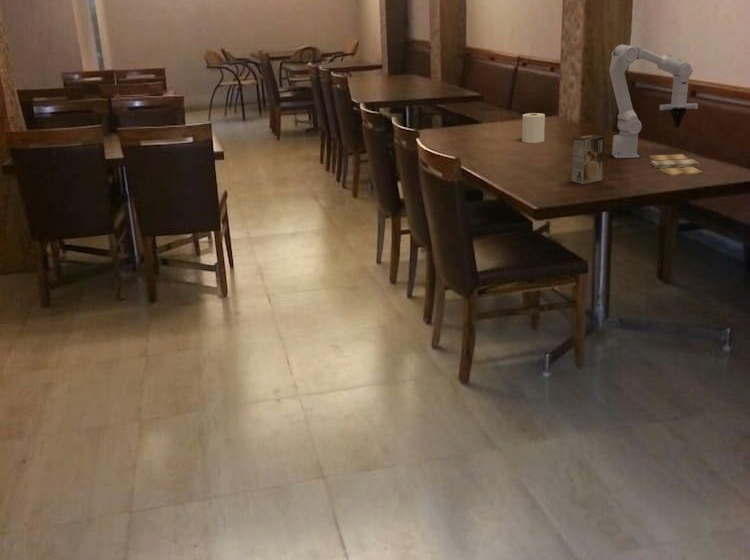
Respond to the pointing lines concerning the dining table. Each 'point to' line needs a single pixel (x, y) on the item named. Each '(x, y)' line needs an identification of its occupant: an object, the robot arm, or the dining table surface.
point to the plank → (680, 171)
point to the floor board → (675, 163)
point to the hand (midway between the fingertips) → (676, 127)
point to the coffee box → (587, 159)
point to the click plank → (666, 157)
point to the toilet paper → (533, 127)
